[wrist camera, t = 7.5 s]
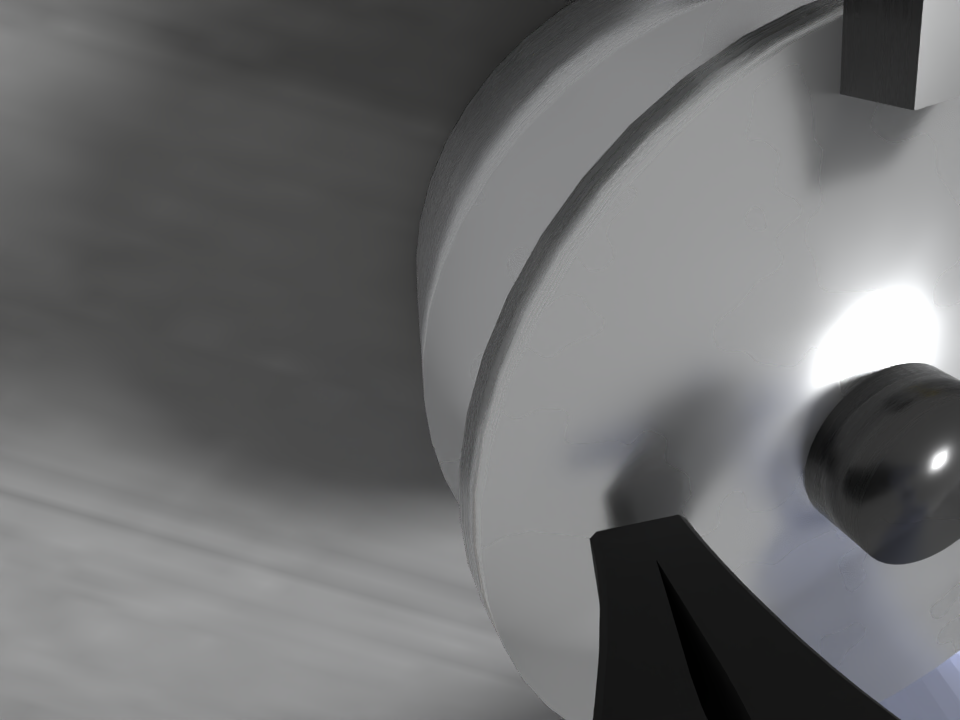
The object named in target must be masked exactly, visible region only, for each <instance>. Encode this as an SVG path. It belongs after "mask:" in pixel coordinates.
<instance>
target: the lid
mask: <svg viewBox="0 0 960 720" xmlns="http://www.w3.org/2000/svg"><path fill="white" fill-rule="evenodd" d="M459 480H460V522H461V527H462V533H463V539H464V545H465V551H466V557H467V563H468V565H469V568H470V571H471V574H472V577H473V579H474V582H475V585H476V588H477V591H478V593H479V596H480V599H481V602H482V604H483V606H484V608H485V610H486V612H487V614H488V616H489V618H490V620H491V622H492V624H493V626H494V628H495V630H496V632H497V634H498V636H499V638H500V640H501V642H502V644H503V646H504V648H505V650H506V651H507V653H508V655H509V656H510V658H511V660H512V662H513V663H514V665H515V667H516V668H517V670H518V672H519V674H520V675H521V677H522V679H523V680H524V681H525V682H526V683H527V684H528V686H529V687H530V688H531V689H532V690H533V691H534V692H535V693H536V694H537V696H538V697H539V698H540V699H541V700H542V701H543V702H544V703H545V704H546V706H547V707H549V708H550V709H551V710H553V711H554V712H555V713H557V714H558V715H560V716H561V717H562V718H564V719H565V720H593V713H594V703H595V693H596V682H597V671H598V658H599V617H600V606H599V597H598V591H597V584H596V578H595V571H594V565H593V558H592V552H591V545H590V538H591V537H592V536H593V535H594V533H595V532H596V531H601V530H606V529H610V528H615V527H620V526H625V525H630V524H635V523H640V522H644V521H649V520H654V519H659V518H664V517H669V516H674V515H681V516H682V517H684V518H685V519H687V520H688V522H689V523H690V524H691V525H692V527H693V528H694V529H695V530H696V531H697V533H698V534H699V535H700V536H701V537H702V539H703V540H704V541H705V542H706V543H707V544H708V545H709V547H710V548H711V549H712V550H713V551H714V552H715V553H716V554H717V556H718V557H719V558H720V559H721V560H722V561H723V562H724V563H725V564H726V565H727V566H728V567H729V568H730V570H731V571H732V572H733V573H734V574H735V575H736V576H737V577H738V578H739V579H740V580H741V581H742V582H743V583H744V584H745V585H746V586H747V587H748V588H749V589H750V590H751V591H752V592H753V593H754V594H755V595H756V596H757V597H758V598H759V599H760V600H761V601H762V602H763V603H764V604H765V605H766V606H767V607H768V608H769V609H770V610H771V611H772V612H773V613H774V614H775V615H777V616H778V617H779V618H780V619H781V620H782V621H783V622H784V623H785V624H786V625H787V626H788V627H789V628H790V629H791V630H792V631H794V632H795V633H796V634H797V635H798V636H799V637H800V638H801V639H802V640H803V641H805V642H806V643H807V644H808V645H809V646H810V647H811V648H813V649H814V650H815V651H816V652H817V653H818V654H819V655H821V656H822V657H823V658H824V659H825V660H826V661H828V662H829V663H830V664H831V665H832V666H833V667H835V668H836V669H837V670H838V671H839V672H841V673H842V674H843V675H844V676H845V677H847V678H848V679H849V680H850V681H851V682H853V683H854V684H855V685H856V686H858V687H859V688H860V689H861V690H863V691H864V692H865V693H867V694H868V695H869V696H870V697H872V698H873V699H874V700H876V701H877V702H878V703H879V702H881V701H883V700H885V699H887V698H888V697H890V696H892V695H894V694H896V693H898V692H899V691H901V690H902V689H904V688H905V687H907V686H909V685H910V684H912V683H913V682H915V681H917V680H918V679H920V678H921V677H923V676H924V675H926V674H928V673H929V672H931V671H932V670H934V669H935V668H936V667H938V666H939V665H941V664H942V663H943V662H945V661H946V660H947V659H949V658H950V657H952V656H953V655H954V654H956V653H957V652H958V651H960V0H817V1H814V2H811V3H808V4H805V5H802V6H800V7H798V8H796V9H794V10H792V11H790V12H788V13H787V14H785V15H783V16H781V17H779V18H777V19H775V20H773V21H771V22H769V23H767V24H765V25H763V26H762V27H760V28H758V29H756V30H754V31H752V32H750V33H748V34H746V35H744V36H742V37H741V38H739V39H738V40H736V41H735V42H734V43H732V44H731V45H729V46H728V47H726V48H725V49H723V50H722V51H721V52H719V53H718V54H716V55H715V56H713V57H712V58H710V59H709V60H708V61H706V62H705V63H703V64H702V65H700V66H699V67H697V68H696V69H695V70H693V71H692V72H690V73H689V74H687V75H686V76H685V77H683V78H682V79H681V80H680V81H679V82H678V83H677V84H675V85H674V86H673V87H672V88H671V89H670V90H669V91H668V92H666V93H665V94H664V95H663V96H662V97H661V98H660V99H659V100H657V101H656V102H655V103H654V104H653V105H652V106H651V107H649V108H648V109H647V110H646V111H645V112H644V113H643V114H642V115H640V116H639V117H638V118H637V119H636V120H635V121H634V122H633V123H631V124H630V125H629V127H628V128H627V129H626V130H625V131H624V132H623V133H622V134H621V135H620V137H619V138H618V139H617V140H616V141H615V142H614V143H613V144H612V145H611V147H610V148H609V149H608V150H607V151H606V152H605V153H604V154H603V155H602V157H601V158H600V159H599V160H598V161H597V162H596V163H595V164H594V165H593V167H592V168H591V169H590V170H589V171H588V172H587V173H586V174H585V175H584V177H583V178H582V179H581V180H580V182H579V183H578V185H577V186H576V187H575V189H574V190H573V192H572V193H571V194H570V196H569V197H568V199H567V200H566V201H565V203H564V204H563V206H562V207H561V208H560V210H559V211H558V213H557V214H556V215H555V217H554V218H553V219H552V221H551V222H550V224H549V225H548V226H547V228H546V229H545V231H544V232H543V233H542V235H541V236H540V238H539V240H538V242H537V244H536V245H535V247H534V249H533V251H532V253H531V254H530V256H529V258H528V260H527V261H526V263H525V265H524V267H523V269H522V270H521V272H520V274H519V276H518V278H517V279H516V281H515V283H514V285H513V287H512V288H511V290H510V292H509V294H508V296H507V298H506V300H505V303H504V305H503V308H502V310H501V312H500V315H499V317H498V320H497V322H496V325H495V327H494V329H493V332H492V334H491V337H490V339H489V341H488V344H487V346H486V349H485V351H484V354H483V356H482V360H481V364H480V367H479V371H478V374H477V378H476V382H475V385H474V389H473V393H472V396H471V400H470V403H469V407H468V411H467V416H466V423H465V430H464V438H463V445H462V452H461V459H460V467H459Z"/></svg>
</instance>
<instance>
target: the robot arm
mask: <svg viewBox="0 0 960 720" xmlns="http://www.w3.org/2000/svg"><path fill="white" fill-rule="evenodd" d="M590 545H591V552H592V558H593V565H594V571H595V578H596V584H597V591H598V597H599V606H600V617H599V658H598V671H597V682H596V693H595V703H594V713H593V720H960V651H958V652H957V653H956V654H954V655H953V656H952V657H950V658H949V659H947V660H946V661H945V662H943V663H942V664H941V665H939V666H938V667H936V668H935V669H934V670H932V671H931V672H929V673H928V674H926V675H924V676H923V677H921V678H920V679H918V680H917V681H915V682H913V683H912V684H910V685H909V686H907V687H905V688H904V689H902V690H901V691H899V692H898V693H896V694H894V695H892V696H890V697H888V698H887V699H885V700H883V701H881V702H879V703H878V702H877V701H876V700H874V699H873V698H872V697H870V696H869V695H868V694H867V693H865V692H864V691H863V690H861V689H860V688H859V687H858V686H856V685H855V684H854V683H853V682H851V681H850V680H849V679H848V678H847V677H845V676H844V675H843V674H842V673H841V672H839V671H838V670H837V669H836V668H835V667H833V666H832V665H831V664H830V663H829V662H828V661H826V660H825V659H824V658H823V657H822V656H821V655H819V654H818V653H817V652H816V651H815V650H814V649H813V648H811V647H810V646H809V645H808V644H807V643H806V642H805V641H803V640H802V639H801V638H800V637H799V636H798V635H797V634H796V633H795V632H794V631H792V630H791V629H790V628H789V627H788V626H787V625H786V624H785V623H784V622H783V621H782V620H781V619H780V618H779V617H778V616H777V615H775V614H774V613H773V612H772V611H771V610H770V609H769V608H768V607H767V606H766V605H765V604H764V603H763V602H762V601H761V600H760V599H759V598H758V597H757V596H756V595H755V594H754V593H753V592H752V591H751V590H750V589H749V588H748V587H747V586H746V585H745V584H744V583H743V582H742V581H741V580H740V579H739V578H738V577H737V576H736V575H735V574H734V573H733V572H732V571H731V570H730V568H729V567H728V566H727V565H726V564H725V563H724V562H723V561H722V560H721V559H720V558H719V557H718V556H717V554H716V553H715V552H714V551H713V550H712V549H711V548H710V547H709V545H708V544H707V543H706V542H705V541H704V540H703V539H702V537H701V536H700V535H699V534H698V533H697V531H696V530H695V529H694V528H693V527H692V525H691V524H690V523H689V522H688V520H687V519H685V518H684V517H682V516H681V515H674V516H669V517H664V518H659V519H654V520H649V521H644V522H640V523H635V524H630V525H625V526H620V527H615V528H610V529H606V530H601V531H596V532H595V533H594V535H593V536H592V537H591V538H590Z"/></svg>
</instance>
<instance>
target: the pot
mask: <svg viewBox="0 0 960 720" xmlns="http://www.w3.org/2000/svg"><path fill="white" fill-rule="evenodd" d="M814 1H817V0H576V1H575V2H573V3H571V4H570V5H568V6H567V7H565V8H563V9H562V10H560V11H559V12H557V13H556V14H555V15H554V16H552V17H551V18H550V19H549V20H547V21H546V22H545V23H544V24H542V25H541V26H540V27H539V28H537V29H536V30H535V31H534V32H532V33H531V34H530V35H529V36H527V37H526V38H525V39H524V40H523V41H522V42H521V43H520V44H519V45H518V46H517V47H516V48H515V49H514V50H513V51H512V52H511V53H510V54H509V55H508V56H507V57H506V58H505V59H504V60H503V61H502V62H501V63H500V64H499V65H498V66H497V68H496V69H495V70H494V71H493V72H492V73H491V74H490V76H489V77H488V78H487V80H486V81H485V82H484V84H483V85H482V86H481V88H480V89H479V90H478V92H477V93H476V94H475V96H474V97H473V98H472V100H471V101H470V102H469V104H468V105H467V106H466V108H465V110H464V112H463V113H462V115H461V117H460V119H459V120H458V122H457V124H456V126H455V127H454V129H453V131H452V133H451V134H450V136H449V138H448V140H447V142H446V143H445V146H444V148H443V151H442V153H441V156H440V158H439V161H438V163H437V165H436V168H435V170H434V173H433V175H432V178H431V180H430V184H429V188H428V191H427V195H426V199H425V203H424V207H423V211H422V215H421V219H420V227H419V236H418V244H417V253H416V267H417V297H418V312H419V328H420V343H421V358H422V373H423V389H424V403H425V409H426V414H427V420H428V425H429V431H430V436H431V442H432V445H433V448H434V450H435V453H436V456H437V459H438V462H439V465H440V468H441V470H442V473H443V476H444V478H445V480H446V482H447V484H448V486H449V488H450V490H451V491H452V493H453V495H454V497H455V499H456V501H457V503H458V504H459V506H460V480H459V467H460V459H461V452H462V445H463V438H464V430H465V423H466V416H467V411H468V407H469V403H470V400H471V396H472V393H473V389H474V385H475V382H476V378H477V374H478V371H479V367H480V364H481V360H482V356H483V354H484V351H485V349H486V346H487V344H488V341H489V339H490V337H491V334H492V332H493V329H494V327H495V325H496V322H497V320H498V317H499V315H500V312H501V310H502V308H503V305H504V303H505V300H506V298H507V296H508V294H509V292H510V290H511V288H512V287H513V285H514V283H515V281H516V279H517V278H518V276H519V274H520V272H521V270H522V269H523V267H524V265H525V263H526V261H527V260H528V258H529V256H530V254H531V253H532V251H533V249H534V247H535V245H536V244H537V242H538V240H539V238H540V236H541V235H542V233H543V232H544V231H545V229H546V228H547V226H548V225H549V224H550V222H551V221H552V219H553V218H554V217H555V215H556V214H557V213H558V211H559V210H560V208H561V207H562V206H563V204H564V203H565V201H566V200H567V199H568V197H569V196H570V194H571V193H572V192H573V190H574V189H575V187H576V186H577V185H578V183H579V182H580V180H581V179H582V178H583V177H584V175H585V174H586V173H587V172H588V171H589V170H590V169H591V168H592V167H593V165H594V164H595V163H596V162H597V161H598V160H599V159H600V158H601V157H602V155H603V154H604V153H605V152H606V151H607V150H608V149H609V148H610V147H611V145H612V144H613V143H614V142H615V141H616V140H617V139H618V138H619V137H620V135H621V134H622V133H623V132H624V131H625V130H626V129H627V128H628V127H629V125H630V124H631V123H633V122H634V121H635V120H636V119H637V118H638V117H639V116H640V115H642V114H643V113H644V112H645V111H646V110H647V109H648V108H649V107H651V106H652V105H653V104H654V103H655V102H656V101H657V100H659V99H660V98H661V97H662V96H663V95H664V94H665V93H666V92H668V91H669V90H670V89H671V88H672V87H673V86H674V85H675V84H677V83H678V82H679V81H680V80H681V79H682V78H683V77H685V76H686V75H687V74H689V73H690V72H692V71H693V70H695V69H696V68H697V67H699V66H700V65H702V64H703V63H705V62H706V61H708V60H709V59H710V58H712V57H713V56H715V55H716V54H718V53H719V52H721V51H722V50H723V49H725V48H726V47H728V46H729V45H731V44H732V43H734V42H735V41H736V40H738V39H739V38H741V37H742V36H744V35H746V34H748V33H750V32H752V31H754V30H756V29H758V28H760V27H762V26H763V25H765V24H767V23H769V22H771V21H773V20H775V19H777V18H779V17H781V16H783V15H785V14H787V13H788V12H790V11H792V10H794V9H796V8H798V7H800V6H802V5H805V4H808V3H811V2H814Z"/></svg>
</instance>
